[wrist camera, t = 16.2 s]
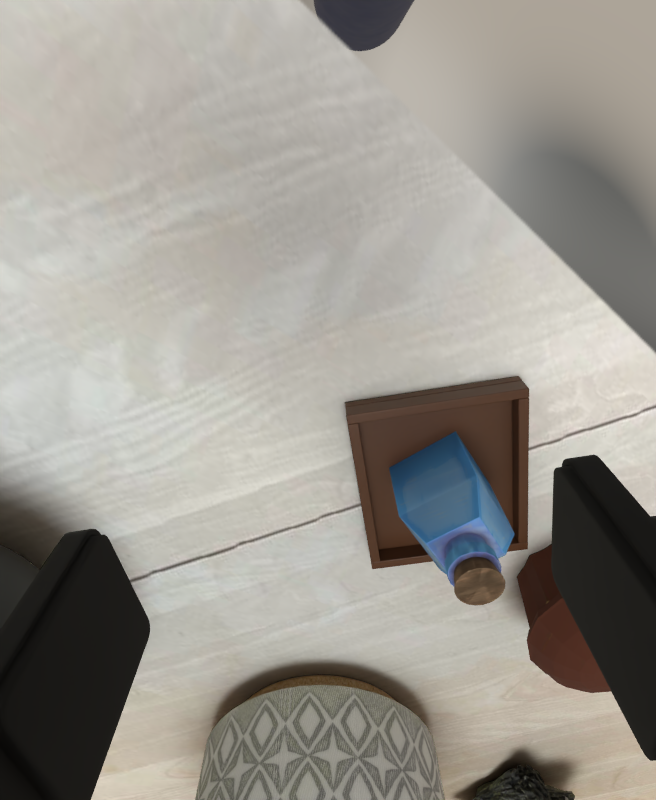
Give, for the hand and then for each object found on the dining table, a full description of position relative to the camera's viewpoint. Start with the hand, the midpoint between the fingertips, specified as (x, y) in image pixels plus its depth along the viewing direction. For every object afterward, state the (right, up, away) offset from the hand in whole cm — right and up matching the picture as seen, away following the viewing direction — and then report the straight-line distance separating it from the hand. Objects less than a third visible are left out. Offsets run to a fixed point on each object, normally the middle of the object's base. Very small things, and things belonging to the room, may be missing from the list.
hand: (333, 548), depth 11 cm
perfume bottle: (+9, -3, +32) cm, 33 cm away
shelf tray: (+9, -3, +32) cm, 34 cm away
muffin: (+22, -14, +38) cm, 46 cm away
